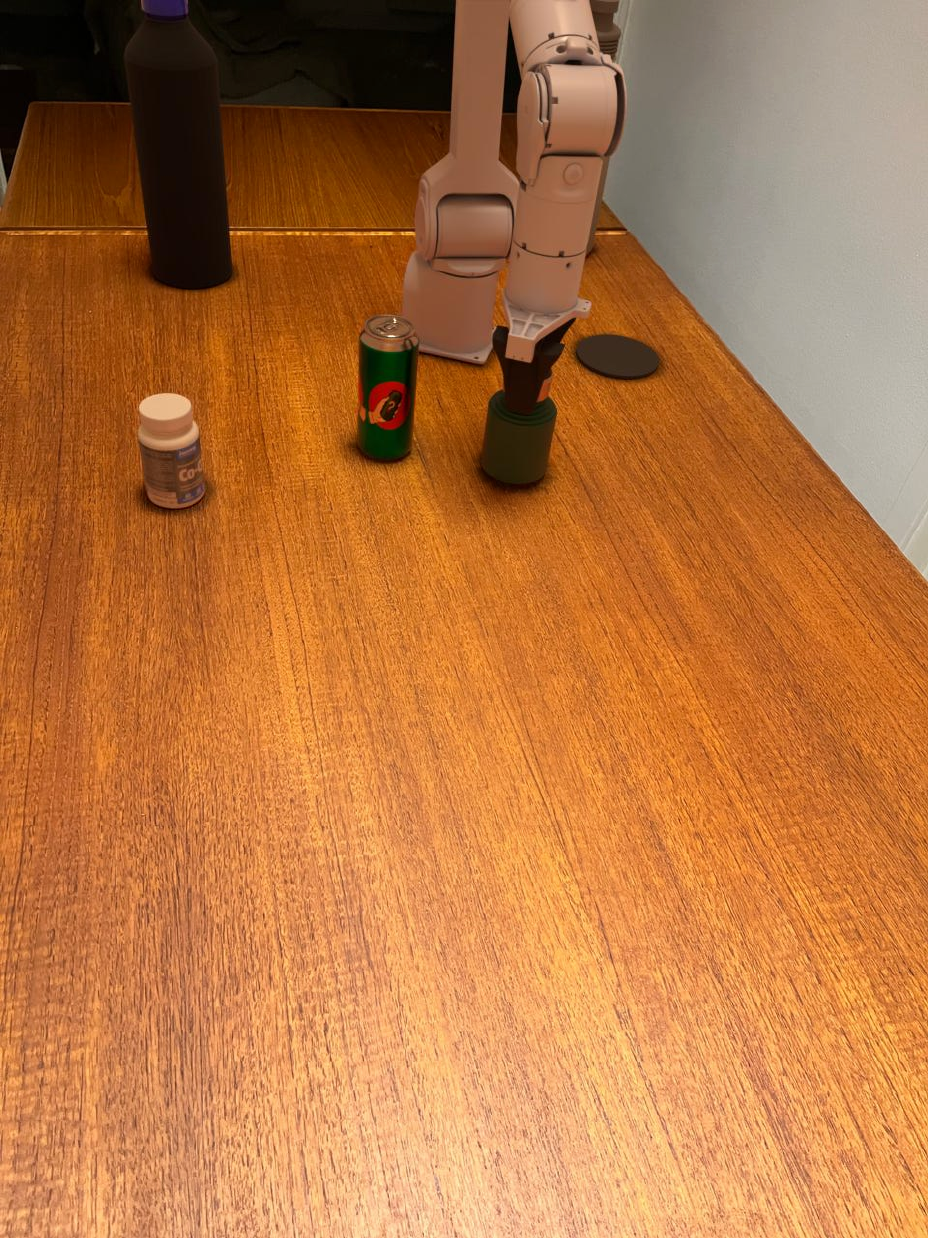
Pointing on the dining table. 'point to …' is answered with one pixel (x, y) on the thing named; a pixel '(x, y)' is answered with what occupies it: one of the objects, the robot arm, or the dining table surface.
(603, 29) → the water bottle
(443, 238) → the robot arm
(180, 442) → the pill bottle
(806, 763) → the dining table surface
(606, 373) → the coaster
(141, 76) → the bottle
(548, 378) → the cap
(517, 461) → the green bottle
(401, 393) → the soda can
